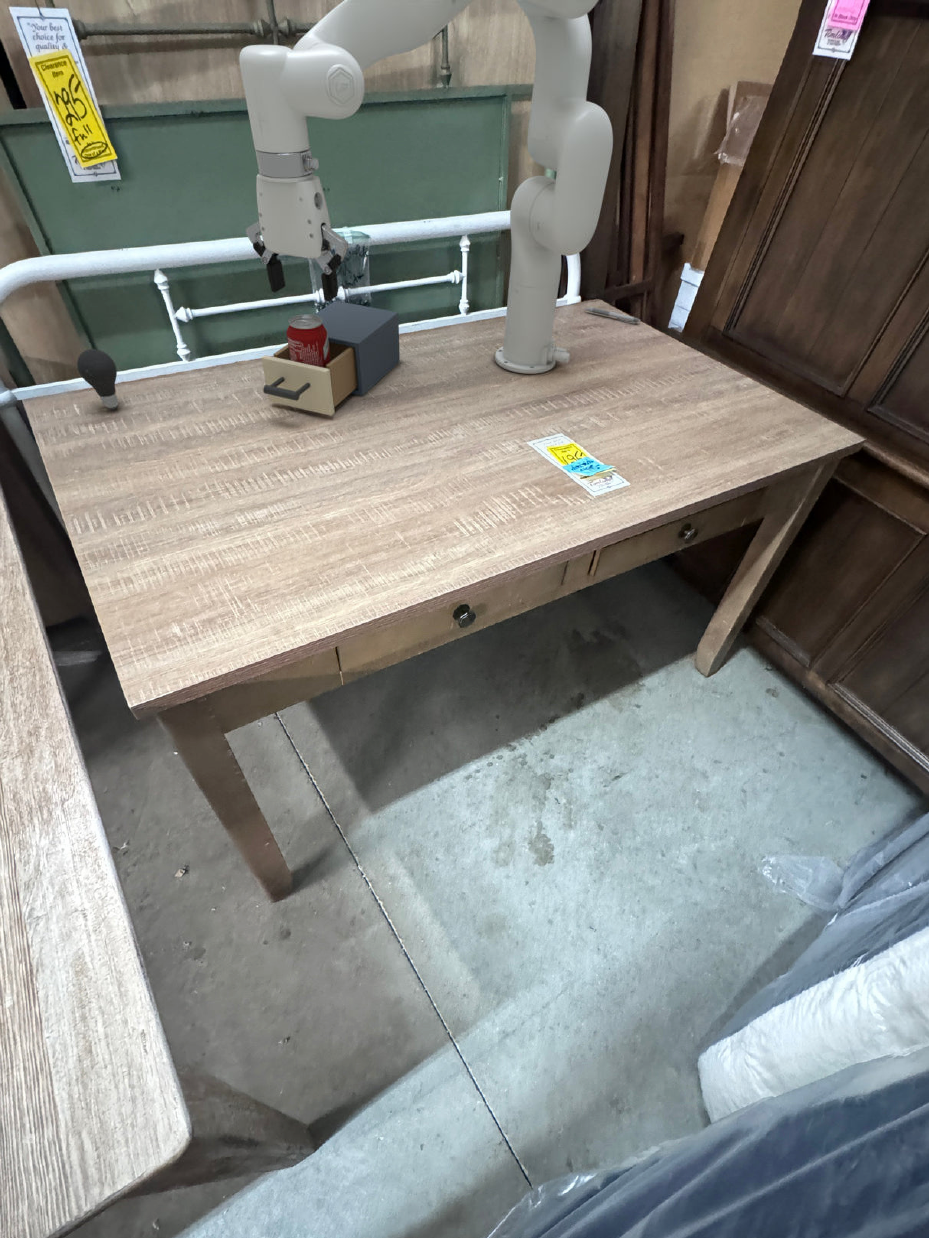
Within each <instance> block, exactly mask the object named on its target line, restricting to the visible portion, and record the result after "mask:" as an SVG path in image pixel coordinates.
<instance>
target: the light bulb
mask: <svg viewBox="0 0 929 1238" xmlns="http://www.w3.org/2000/svg"><path fill="white" fill-rule="evenodd" d="M76 365H77V366H76V367H77V370H78V373H79V375H80V376H81V377H82V380H84V381H85V382H86V383H87V384H89V386H91V387H92V389H94V391H95V393H96V394H97V395H98V396H99V398H100V400H101V403H102V405H103V406H104V407H105V408H107V409H110V410H115V409H117V407H118V405H119V403H120V402H119V398H118V396H117V393H116V392H117V390H116V380H117V376H118V371H117V370H118V369H117V365H116V363H115V360H113V358H112V357H111V356H110V355H109V354H108V353H106V352H104V351H102V350H100V349H96V348H90V349H85V350H84V351H82V352H81V353H80V355H79V356H78V358H77V362H76Z"/></svg>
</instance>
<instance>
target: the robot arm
mask: <svg viewBox="0 0 929 1238" xmlns="http://www.w3.org/2000/svg"><path fill="white" fill-rule="evenodd" d="M474 1H475V0H343V1H342V2H340V3H339V4H337V5H336V6H335V7H334V8H333V9H331V10H330V11H329V12H328V13H327V14H326V15H325V16H324V17H322V19H320V20H319V21H318V22H317V23H316V24H314V25H313V26H312V27H311V28H310V29H309V30H308V32H306V33H305V34H304V35H303V36H302V37H301V38H300V39H299V40H298V41H297V43H295V45H294V46H293V49H292V48H290V47H288V46H285V45H280V44H279V45H278V44H252V45H247V46H245V47H243V48H242V49H241V50H240V53H239V59H238V60H239V68H240V73H241V74H240V75H241V79H242V86H243V92H244V97H245V102H246V108H247V113H248V119H249V123H250V129H251V135H252V136H251V137H252V141H253V147H254V153H255V158H256V163H257V169H258V174H257V175H256V185H255V186H256V187H255V188H256V203H257V212H258V220H257V221H256V222H254V223H252V224H251V225H249V226H248V227H246V228H245V230H244V231H245V235H246V236H247V238H248V240H249V241H250V243H251V244H252V249H253V250H254V251H255V252H256V254H257V255H258V256H259V257H260V260H261V262H262V264H264V265H265V267H266V273H267V278H268V283H269V284H270V290H271V292H272V293H277V292H279V291H280V290H282V289H284V288H285V287H286V281H285V274H284V268H283V263H282V260H281V259H279V258H278V257H279V256H280V255H284V256H288V257H289V256H290V257H296V258H302V259H309V260H315V261H316V263H317V265H319V267H320V268H321V270H322V271H323V273H321V275H320V279H321V285H322V293H323V300H324V301H325V302H331V301H333V300H334V299H335V298H337V297H338V294H339V284H338V274H337V270H338V269H339V268H340V266H341V265H342V263H344V261H345V259H346V254H347V251H348V249H349V241H348V240H347V239H345V238H344V237H343V236H341V234H339V233H337V232H336V231H334V229H332V225H331V220H330V213H329V209H328V204H327V201H326V196H325V193H324V189H323V186H322V183H321V179H320V177H319V176H318V175H314V172H315V171H318V170H319V168H320V162H319V161H320V160H319V159H318V158H317V157H314V156H312V150H311V147H310V140H309V139H310V138H309V131H308V124H307V123H308V122H307V117H311V118H319V119H326V120H327V119H328V120H337V121H338V120H344V119H347V118H350V117H351V116H353V115H354V114H355V113H356V112H357V111H358V110H359V109H360V107H361V105H362V103H363V100H364V97H365V91H366V89H365V87H366V86H365V85H366V84H365V78H364V74H363V72H365V71H366V70H368V69H369V68H370V67H372V66H373V65H375V64H377V63H379V62H380V61H382V60H385V59H386V58H390V57H393V56H396V55H401V54H405V53H409V52H411V51H414V50H416V49H418V48H420V47H423V46H425V45H426V44H428V43H429V42H430V41H431V40H432V39H433V38H434V37H436V36H437V35H438V34H439V33H440V32H441V31H442V30H443V29H444V28H445V27H446V26H448V25H449V24H450V23H451V22H452V21H454V19H455V18H456V17H457V16H459V15H460V14H461V13H462V12H463V11H464V10H465V9H466V8H468V7H469V6H470V5H471V4H472V3H473V2H474ZM515 1H516V3H517V4H518V5H519V7H520V8H521V10H522V11H523V13H524V14H525V16H526V18H527V20H528V22H529V25H530V28H531V30H532V34H533V38H534V44H535V67H534V79H533V85H532V94H531V102H530V110H529V117H528V126H527V135H526V138H527V140H526V146H527V151H528V154H529V156H530V157H531V159H532V160H533V161H534V162H535V163H536V164H538V165H539V166H542V167H544V168H545V169H548V170H551V171H553V172H556V175H555V178H553V177H550V176H545V175H534V176H531V177H529V178H527V179H525V180H524V181H522V183H520V185H519V186H518V187H517V188H516V190H515V192H514V194H513V197H512V200H511V204H510V213H509V223H510V224H509V225H510V237H511V255H510V271H509V279H508V280H509V281H508V292H507V301H506V302H507V303H506V304H507V305H506V313H505V323H504V324H505V325H504V336H503V346H501V347H499V348H498V349H497V350H496V351H495V355H494V361H495V362H496V364H497V365H498V366H499V367H501V368H502V369H505V370H506V371H510V372H513V373H518V374H527V375H528V374H529V375H535V374H542V373H546V372H549V371H550V370H552V369H553V368H554V367H555V365H556V361H557V362H559V363H562V364H563V363H564V364H569V361H570V358H571V353H570V352H568V348H565V347H564V348H563V347H557V345H555V340H556V339H555V338H554V337H552V336H553V329H554V322H555V315H556V308H557V301H558V295H559V294H558V293H559V288H560V281H561V274H562V256H567V257H568V256H574V255H577V254H579V253H581V252H582V251H583V250H584V249H586V248H587V246H588V245H589V244H590V242H591V241H592V238H593V236H594V234H595V231H596V230H597V226H598V223H599V219H600V215H601V214H600V213H601V210H602V204H603V200H604V195H605V191H606V185H607V182H608V181H607V180H608V175H609V170H610V166H611V160H612V154H613V146H614V134H613V127H612V123H611V120H610V118H609V115H608V113H607V112H606V110H604V108H602V107H601V106H600V105H598V104H596V103H594V102H591V101H588V100H587V93H588V87H589V86H588V85H589V79H590V72H591V71H590V70H591V63H592V54H593V53H592V50H593V40H592V30H591V24H590V19H589V15H588V13H590V12H591V11H592V10H593V8H595V6H596V5H597V4H598V2H599V0H515ZM260 233H261V234H260ZM333 249H335V251H334V255H333V254H332V250H333Z"/></svg>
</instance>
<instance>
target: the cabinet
mask: <svg viewBox="0 0 929 1238" xmlns="http://www.w3.org/2000/svg"><path fill="white" fill-rule="evenodd" d="M313 315H315V316H318V317H320V318H321V319H322V324H323V325H324V327H325V328H326V329H327V332H328V341H329V342H332V343H336V344H341V345H346V346H351V347H355V354H356V366H357V378H358V387H357V388H356V389H355V390H353V391H352V392H351V393H350V394H352V395H357V396H361V397H363V396H364V395H365V394H367V393H368V392H369V391H370V390H371V389H372V388H373V387H374V386H375V385H377V384H378V382H380V381H381V380H382V379H383V378H384V377H385V376H386V375H387V374H389V373H390V372H391V371H392V370H393V369H394V368H395V367H396V366H397V365H398V364H399V363H400V362H401V354H400V353H401V352H400V350H401V349H400V324H399V323H400V322H399V321H400V320H399V312H398V311H393V310H387V309H382V308H376V307H371V306H366V305H361V304H355V303H350V302H344V301H340V300H334V301H332V302H331V303H330V304H328V305H327V306H325V307H324V308H322V309H320V310H319V311H317V312H316V313H314V314H313Z"/></svg>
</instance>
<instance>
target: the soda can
mask: <svg viewBox="0 0 929 1238" xmlns="http://www.w3.org/2000/svg"><path fill="white" fill-rule="evenodd" d="M285 334H286V339H287V345H288V346H289V352H290V358H291V361H294V362H299V363H304V364H308V365H313V366H317V367H322V368H326V365H327V364H328V363H330V362H331V359H330V350H329V341H328V332H327V329H326V328H325V327H324V325H323V324H322V319H321V318H320V317H318V316H315V315H314V314H298V315H294V316H292V317H291V318H289V319H288V327H287V329H286V333H285Z"/></svg>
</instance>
